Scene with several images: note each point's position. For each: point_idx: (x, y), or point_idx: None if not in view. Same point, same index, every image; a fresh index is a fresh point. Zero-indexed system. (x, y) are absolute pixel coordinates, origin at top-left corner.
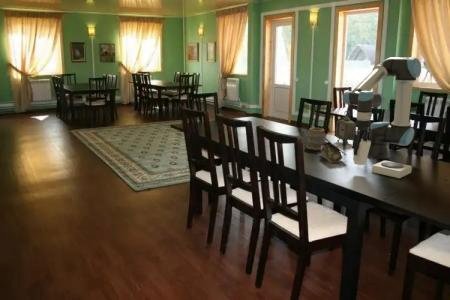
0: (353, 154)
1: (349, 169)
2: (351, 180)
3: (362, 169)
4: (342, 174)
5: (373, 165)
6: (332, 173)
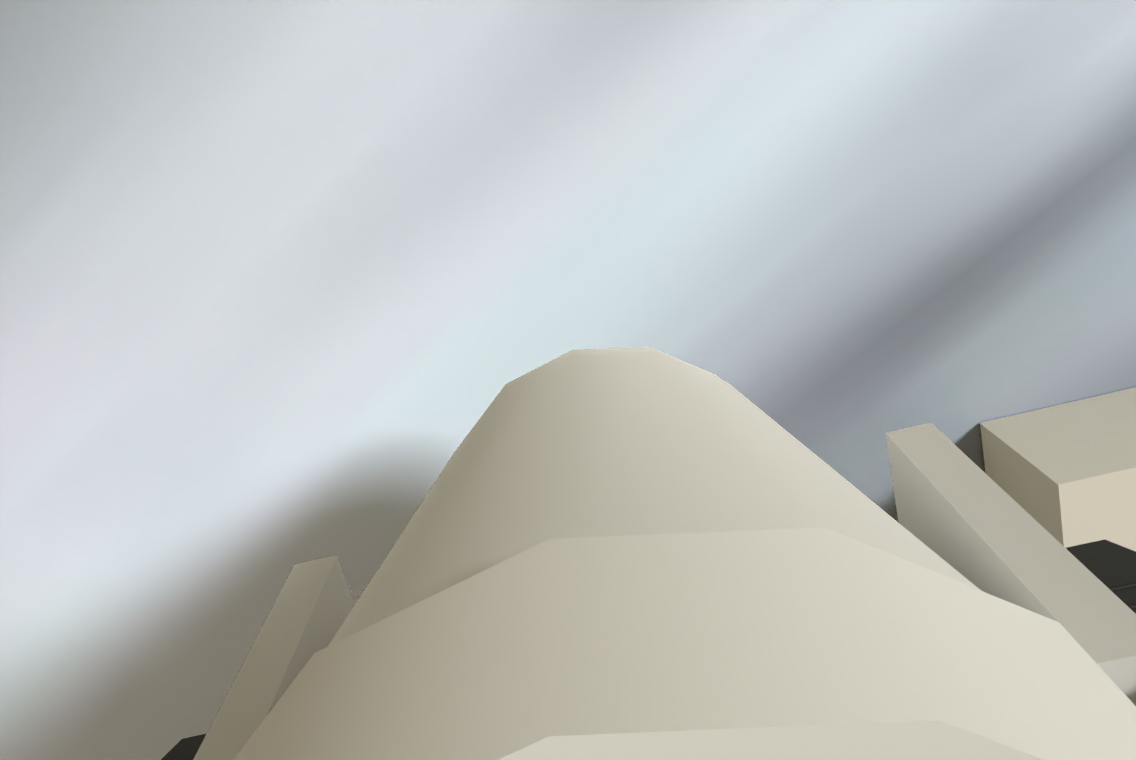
0: (439, 484)
1: (694, 34)
2: (109, 638)
3: (975, 192)
4: (217, 265)
5: (1060, 510)
6: (35, 89)
